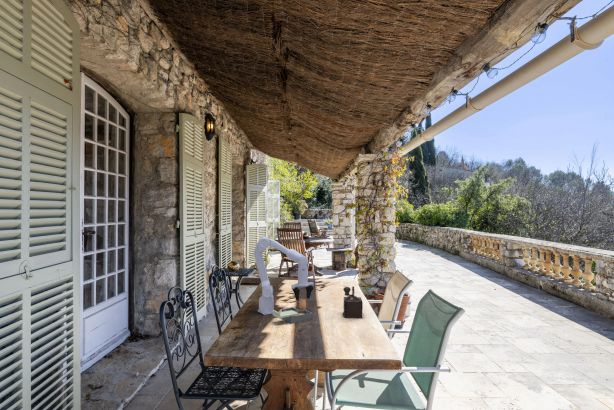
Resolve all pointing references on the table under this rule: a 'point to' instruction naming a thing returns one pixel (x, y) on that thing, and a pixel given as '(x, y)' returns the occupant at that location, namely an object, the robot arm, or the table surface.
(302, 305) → the tan cylindrical peg
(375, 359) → the table surface
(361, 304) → the manual coffee grinder
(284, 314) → the lid
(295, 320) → the housing
